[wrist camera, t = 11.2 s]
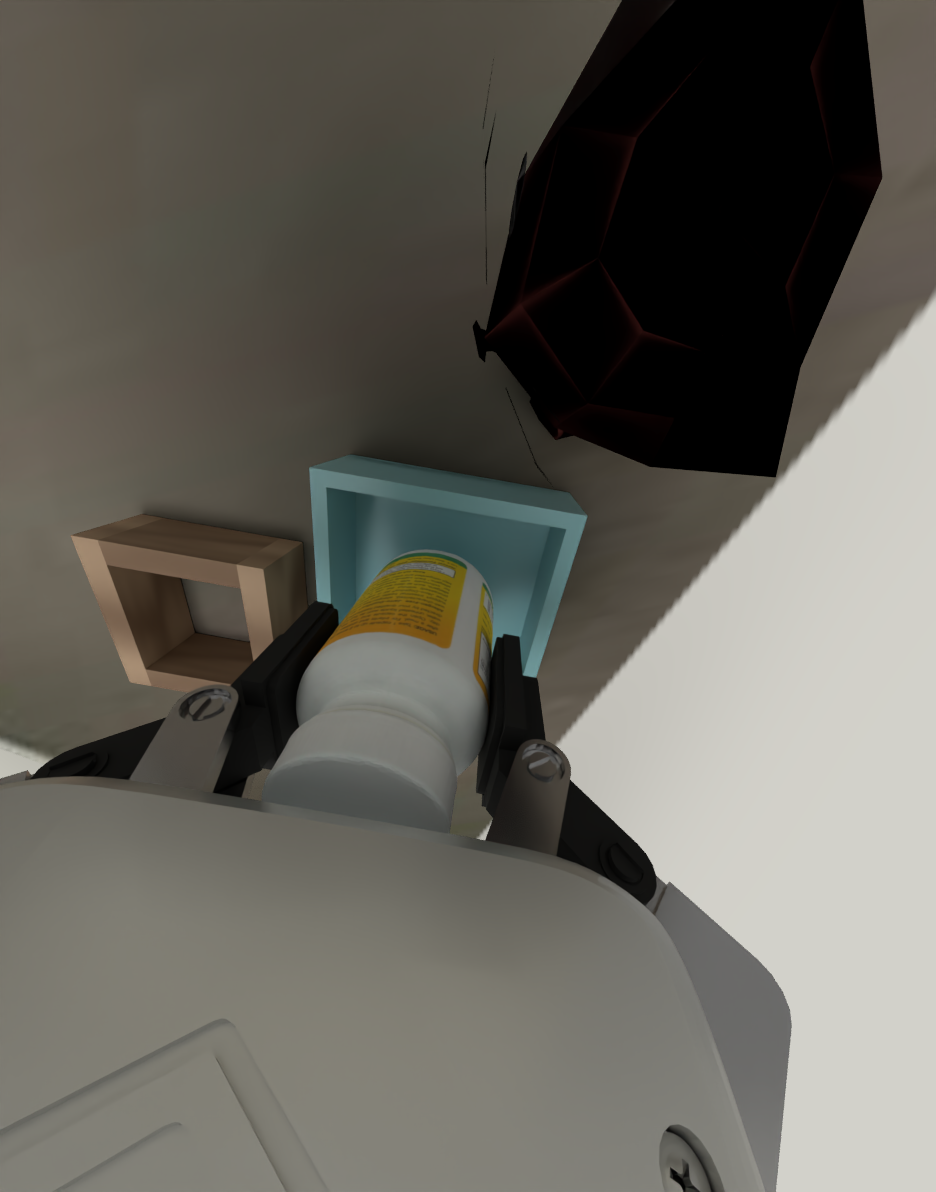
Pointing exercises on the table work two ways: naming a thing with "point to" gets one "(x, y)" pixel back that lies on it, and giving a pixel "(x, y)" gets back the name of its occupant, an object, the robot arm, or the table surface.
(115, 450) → the table surface
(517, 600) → the tray
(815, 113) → the cat figurine
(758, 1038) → the robot arm
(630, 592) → the table surface
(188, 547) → the hollow wooden block
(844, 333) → the table surface
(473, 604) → the supplement bottle
